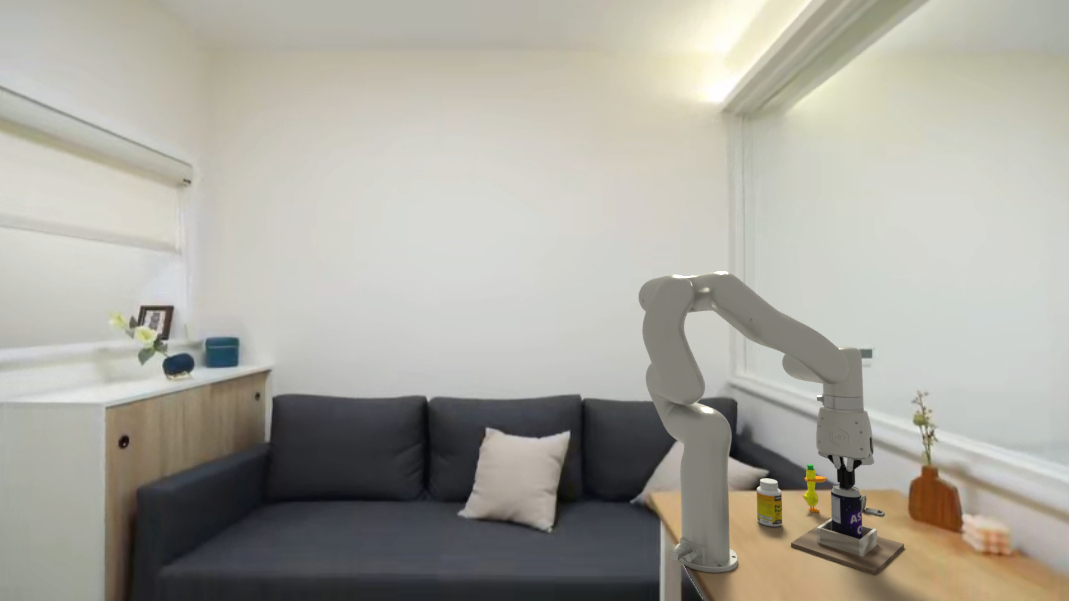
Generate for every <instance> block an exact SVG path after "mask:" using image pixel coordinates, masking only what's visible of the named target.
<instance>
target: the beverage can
mask: <svg viewBox="0 0 1069 601" xmlns="http://www.w3.org/2000/svg"><path fill="white" fill-rule="evenodd" d="M830 503H831V504H830V507H831V509H830V510H831V512H830V514H831V518H832V531H834V532H837V533H840V534H844V535H847V536H851V537H854V538H857V539H861V538H862V525H863V511H862V494H861V493H860V489H859V488H858V487H856V486H855V485H854V486H853V487H852V488H850V489H849V490H847V489H845V488H840V485H839V483H836V484H833V485H832V489H831V490H830Z"/></svg>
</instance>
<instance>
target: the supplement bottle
mask: <svg viewBox="0 0 1069 601" xmlns="http://www.w3.org/2000/svg"><path fill="white" fill-rule="evenodd" d="M778 483H779V482H778V481H777V479H773V478H767V477H766V478H761V479H760V480H759V486H758V487H757V488H756V514H757V517H756V518H757V522H758V523H759V524H761V525H763V526H767V527H771V528H773V527H774V528H777V527H780V526H782V524H783V503H782V502H783V500H782V499H783V494H782V490H781V489H780V488H779V484H778Z"/></svg>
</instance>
